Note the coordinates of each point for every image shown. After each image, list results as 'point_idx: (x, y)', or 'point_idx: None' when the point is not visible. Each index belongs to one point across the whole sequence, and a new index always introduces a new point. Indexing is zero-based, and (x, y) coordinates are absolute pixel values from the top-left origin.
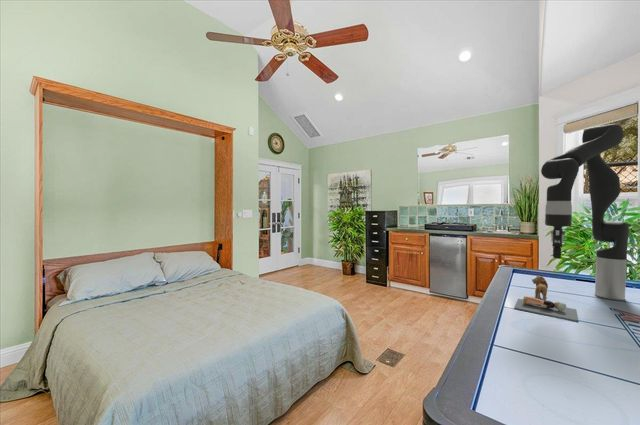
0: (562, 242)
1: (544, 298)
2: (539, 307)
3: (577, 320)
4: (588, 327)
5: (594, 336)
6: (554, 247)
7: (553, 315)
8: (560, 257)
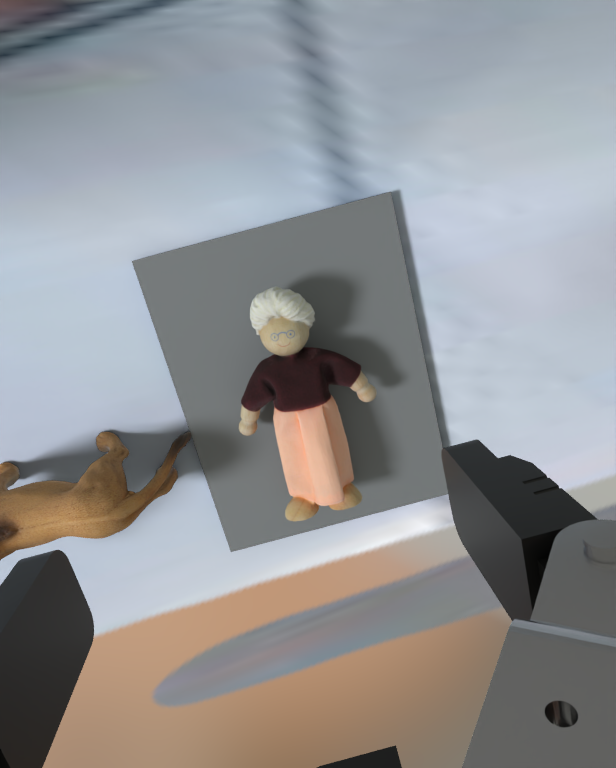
0: (576, 631)
1: (123, 450)
2: None
3: (390, 197)
4: (444, 130)
5: (585, 75)
6: (46, 738)
7: (413, 312)
8: (476, 445)
